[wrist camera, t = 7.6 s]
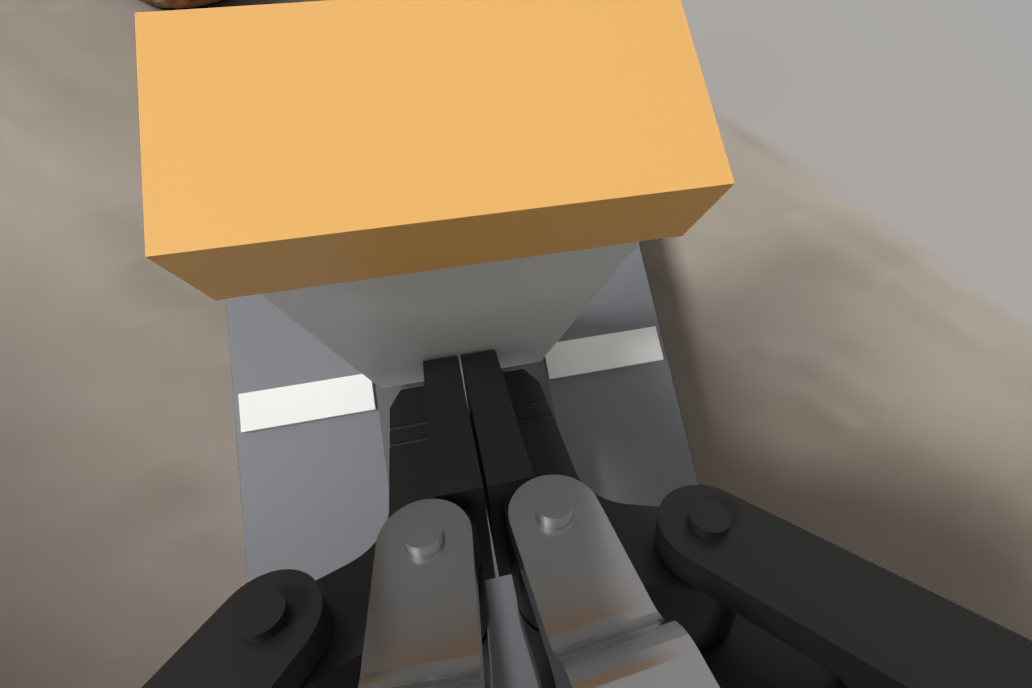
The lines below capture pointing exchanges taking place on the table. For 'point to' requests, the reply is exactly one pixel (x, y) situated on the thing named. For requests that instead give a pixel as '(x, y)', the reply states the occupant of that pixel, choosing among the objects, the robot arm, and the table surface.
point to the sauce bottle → (179, 3)
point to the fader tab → (421, 163)
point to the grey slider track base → (366, 437)
